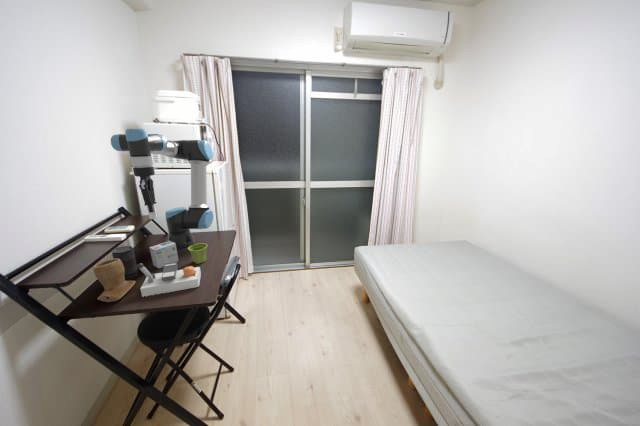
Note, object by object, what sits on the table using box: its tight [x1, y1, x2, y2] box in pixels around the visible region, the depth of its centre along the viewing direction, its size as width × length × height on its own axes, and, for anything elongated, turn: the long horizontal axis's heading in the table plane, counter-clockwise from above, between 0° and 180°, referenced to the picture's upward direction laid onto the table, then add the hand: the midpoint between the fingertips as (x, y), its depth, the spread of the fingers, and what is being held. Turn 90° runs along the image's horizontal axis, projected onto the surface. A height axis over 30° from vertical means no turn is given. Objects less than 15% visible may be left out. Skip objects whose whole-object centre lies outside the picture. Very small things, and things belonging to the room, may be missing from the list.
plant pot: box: [187, 242, 208, 265], centre depth 138 cm, size 9×9×9 cm
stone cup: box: [93, 258, 136, 303], centre depth 109 cm, size 15×12×15 cm
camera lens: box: [111, 245, 139, 281], centre depth 122 cm, size 8×8×15 cm
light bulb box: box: [149, 240, 179, 270], centre depth 136 cm, size 11×7×11 cm, turn 145°
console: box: [139, 266, 202, 298], centre depth 117 cm, size 12×22×6 cm, turn 110°
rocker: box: [162, 261, 178, 281], centre depth 115 cm, size 9×5×2 cm, turn 21°
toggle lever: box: [137, 262, 154, 278], centre depth 112 cm, size 3×2×9 cm
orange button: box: [182, 265, 195, 278], centre depth 119 cm, size 4×4×6 cm
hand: (153, 218), depth 117 cm, fingers closed
